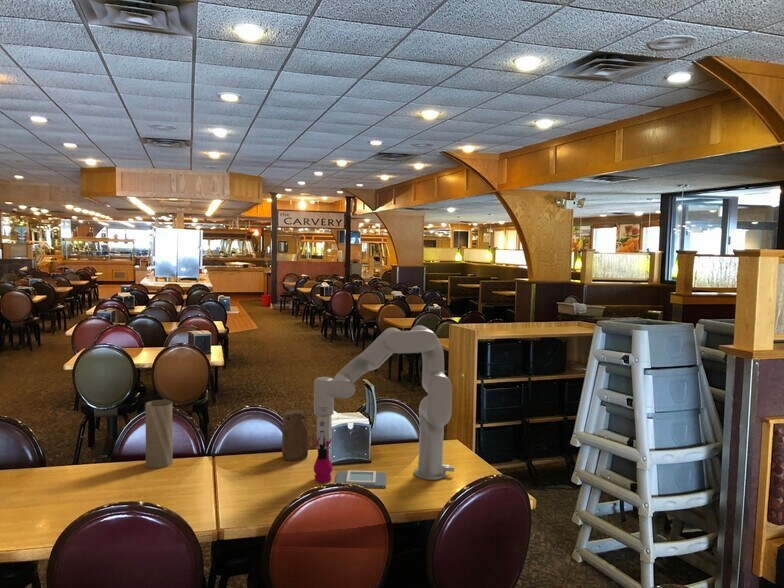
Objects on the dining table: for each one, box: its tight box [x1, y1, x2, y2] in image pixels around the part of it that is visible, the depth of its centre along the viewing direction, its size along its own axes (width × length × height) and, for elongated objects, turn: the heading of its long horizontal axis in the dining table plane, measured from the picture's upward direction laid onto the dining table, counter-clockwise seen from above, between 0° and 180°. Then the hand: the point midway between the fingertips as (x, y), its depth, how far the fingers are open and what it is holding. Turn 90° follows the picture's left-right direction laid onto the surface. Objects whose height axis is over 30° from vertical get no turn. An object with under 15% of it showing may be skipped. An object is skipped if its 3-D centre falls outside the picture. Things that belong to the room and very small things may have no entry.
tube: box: [145, 399, 173, 470], centre depth 248 cm, size 10×10×25 cm
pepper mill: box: [313, 435, 333, 484], centre depth 236 cm, size 7×7×20 cm
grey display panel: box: [334, 470, 387, 489], centre depth 238 cm, size 19×13×2 cm
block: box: [281, 409, 309, 462], centre depth 259 cm, size 11×8×20 cm
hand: (323, 455), depth 236 cm, fingers closed on pepper mill, 5 cm apart
